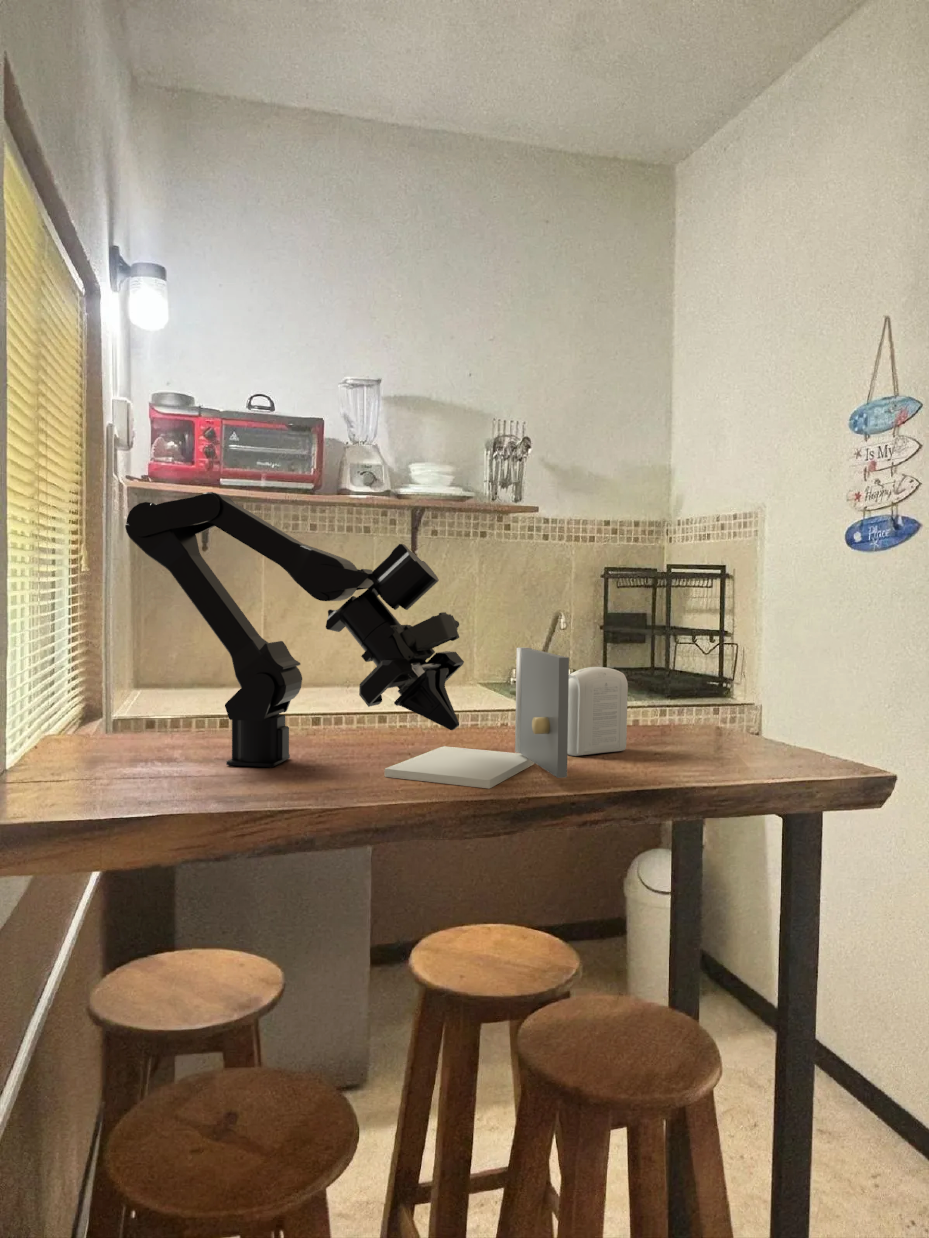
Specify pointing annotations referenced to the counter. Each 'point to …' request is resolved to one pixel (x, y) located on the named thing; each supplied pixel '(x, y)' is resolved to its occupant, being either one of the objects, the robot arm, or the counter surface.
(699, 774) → the counter surface
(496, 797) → the counter surface
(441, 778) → the board
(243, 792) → the counter surface
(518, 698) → the door
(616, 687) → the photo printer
